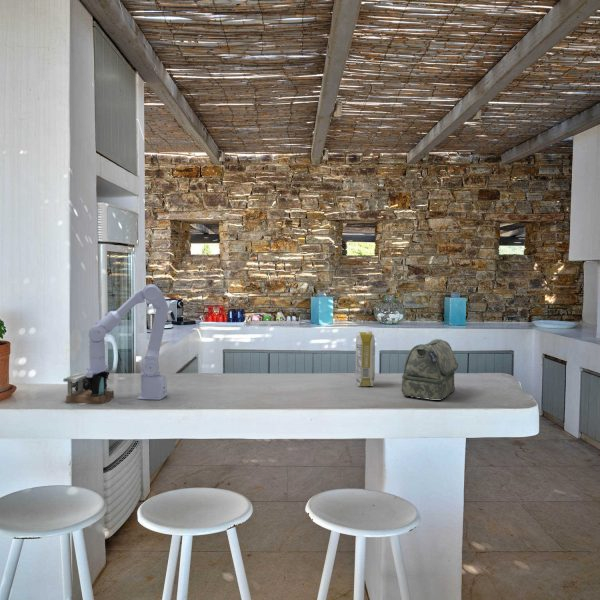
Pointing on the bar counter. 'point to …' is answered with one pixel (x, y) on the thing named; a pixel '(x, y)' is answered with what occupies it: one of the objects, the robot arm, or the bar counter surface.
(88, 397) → the socket station
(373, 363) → the juice carton
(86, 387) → the fruit
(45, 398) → the bar counter surface
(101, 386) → the peg
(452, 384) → the lunch bag
